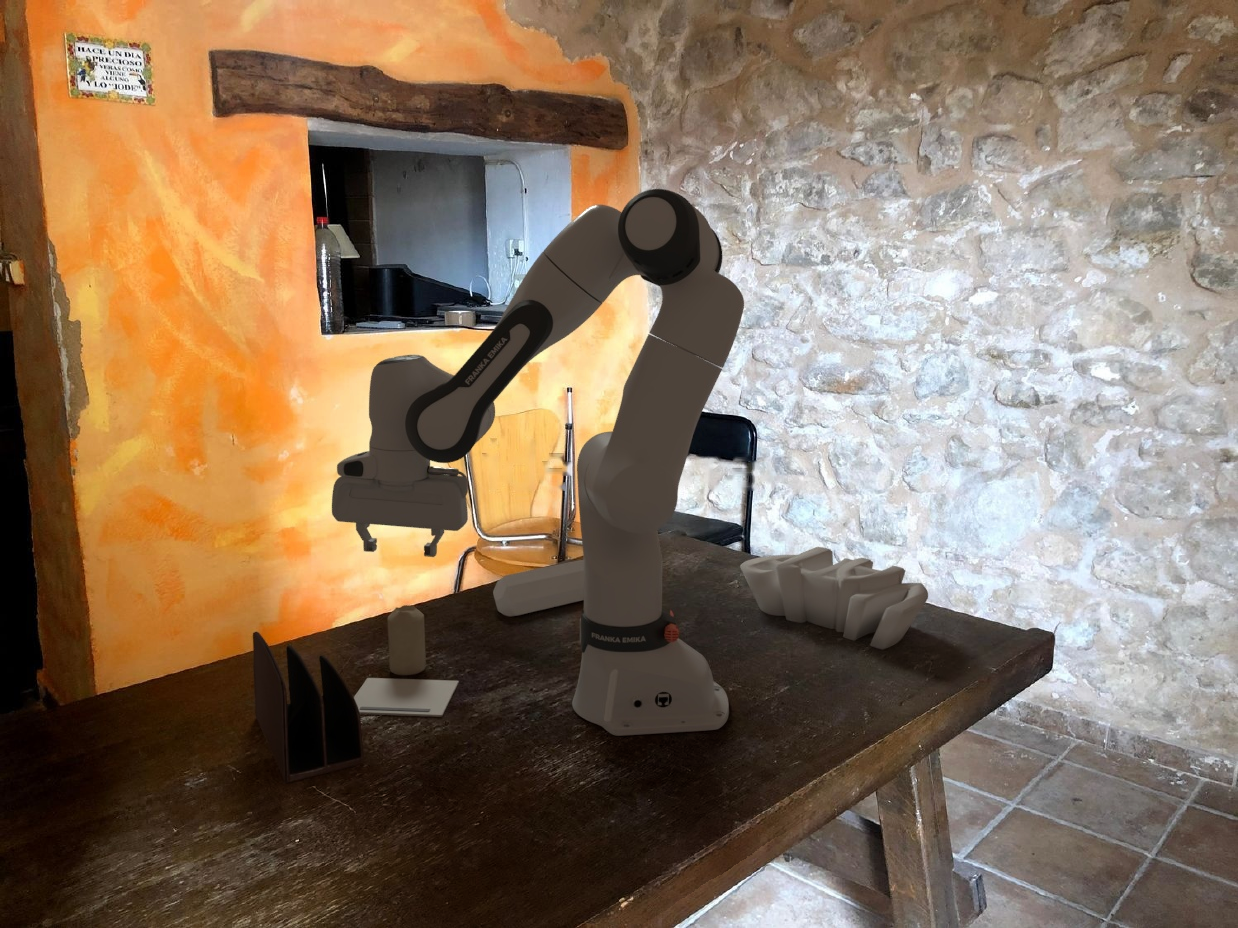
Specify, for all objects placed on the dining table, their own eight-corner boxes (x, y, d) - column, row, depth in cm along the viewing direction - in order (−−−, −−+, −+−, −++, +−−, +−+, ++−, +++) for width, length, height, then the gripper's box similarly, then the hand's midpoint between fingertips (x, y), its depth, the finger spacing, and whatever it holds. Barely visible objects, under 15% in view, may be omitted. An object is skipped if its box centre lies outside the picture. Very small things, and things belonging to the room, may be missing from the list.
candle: (417, 677, 151) (415, 615, 148) (383, 673, 152) (381, 612, 149) (431, 662, 156) (429, 603, 154) (398, 659, 157) (396, 600, 155)
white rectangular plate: (458, 682, 149) (458, 680, 149) (442, 716, 138) (441, 714, 138) (367, 679, 150) (367, 677, 150) (344, 713, 139) (343, 710, 139)
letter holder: (284, 785, 121) (277, 679, 118) (255, 718, 138) (247, 624, 135) (365, 765, 126) (360, 662, 123) (327, 702, 143) (321, 611, 139)
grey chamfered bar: (590, 562, 193) (480, 585, 180) (608, 553, 187) (496, 576, 174) (600, 599, 192) (490, 625, 178) (619, 591, 186) (506, 617, 173)
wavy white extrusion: (948, 638, 168) (953, 579, 165) (895, 665, 157) (900, 603, 154) (783, 585, 192) (785, 534, 190) (728, 606, 181) (730, 551, 179)
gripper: (473, 464, 148) (472, 552, 151) (343, 455, 150) (344, 542, 153) (462, 473, 142) (461, 565, 145) (326, 463, 144) (328, 554, 147)
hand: (400, 553), depth 149 cm, fingers open, 8 cm apart
